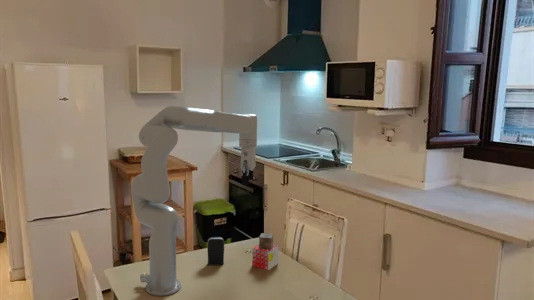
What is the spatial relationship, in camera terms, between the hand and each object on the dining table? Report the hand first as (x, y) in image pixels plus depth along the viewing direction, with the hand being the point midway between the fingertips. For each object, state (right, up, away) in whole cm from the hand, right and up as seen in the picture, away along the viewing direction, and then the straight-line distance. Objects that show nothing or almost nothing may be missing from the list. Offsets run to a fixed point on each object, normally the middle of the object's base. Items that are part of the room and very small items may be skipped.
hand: (247, 182), depth 184 cm
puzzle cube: (+8, -35, -4) cm, 36 cm away
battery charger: (-13, -34, -4) cm, 37 cm away
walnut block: (+8, -27, -5) cm, 29 cm away
